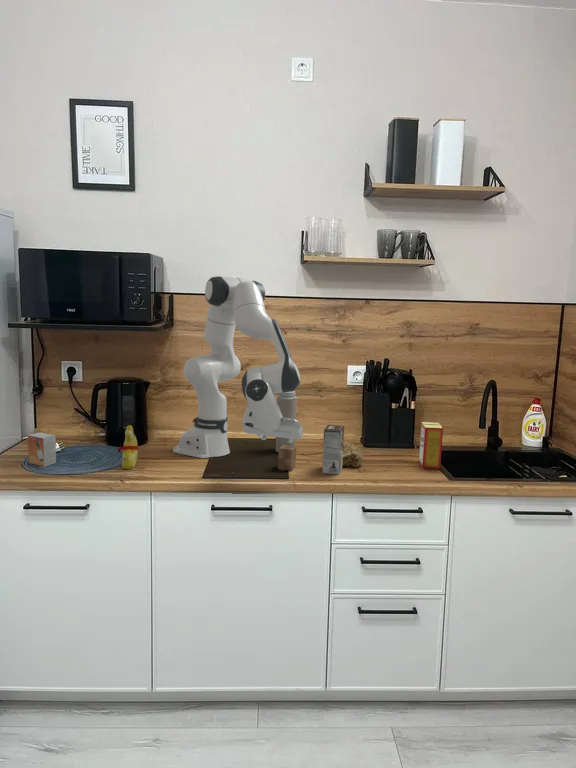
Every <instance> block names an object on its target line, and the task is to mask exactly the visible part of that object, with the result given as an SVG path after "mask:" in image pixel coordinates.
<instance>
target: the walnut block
mask: <svg viewBox="0 0 576 768" xmlns="http://www.w3.org/2000/svg"><path fill="white" fill-rule="evenodd" d="M277 460H278V461H277V462H278V464H277V465H278V467H277V469H282V470H281V471H284V470H288V471H287V472H292V471H294V468H295V469H296V465H297V464H296V460H297V446H296V445H295V446H286V445H283V446H281V447H280V448H279V453H278V459H277Z"/></svg>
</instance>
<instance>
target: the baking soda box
mask: <svg viewBox="0 0 576 768" xmlns="http://www.w3.org/2000/svg"><path fill="white" fill-rule="evenodd" d="M443 433H444V428H443V427H442V425H441V423H439V422H433V421H432V422H430V421H421V422H420V437H419V438H420V439H419V451H418V452H419V453H418V462H419V464H420V466H421V468H422V469H437V470H440V469H441V462H442V461H441V460H442V448H443Z"/></svg>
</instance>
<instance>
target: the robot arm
mask: <svg viewBox="0 0 576 768" xmlns="http://www.w3.org/2000/svg"><path fill="white" fill-rule="evenodd" d="M204 296H205V301H206V302H207V303H208V304H209V308H208V311H207V316H206V322H205V329H204V335H203V338H204V340H205V341H206V343H207V344H209V346H210V354H203V355H196V356H193V357H191V358H189V359H187V360H186V361H185V362H184V364H183V375H184V377H185V379H186V381H187V382H189V383H190V384H191V385H192V387H193V388H194V391H195V394H196V397H197V413H198V414H197V416H196V417H194V419H192V420H191V423H193V426H192V427H190V428H189V429H188V430H186V431H185V432H183V433H182V434H181V436H180V438H179V441H178V444H177V445H176V446H174V447H173V448H172V449H173V450H172V453H175V454H179V455H183V456H189V457H194V458H200V459H205V458H215V457H223V456H226V455H229V454H230V453H231V450H230V447H229V446H230V445H229V440H228V428H229V427H228V423H229V421H228V416H227V409H228V408H227V405H228V403H227V402H228V400H227V397H226V395H225V394H223V393H222V392H220V390H219V386H218V383H220V382H228V381H230V380H233V379H235V378H237V377H238V376H239V374H240V373H241V368H242V366H241V365H242V363H241V362H240V359H239V358H238V356H237V355H236V353H235V351H234V350H235V349H234V339H235V330H236V329H237V330H238V331H239V332H240V333H241V334H242V335H244V336H245V337H248V338H252V339H261V340H267V341H270V342H272V344H273V346H274V347H275V351H276V354H277V355H278V358H279V360H278V362H276V363H270V364H267V365H262V366H255V367H253V368H249V369H247V370H246V371H245V372H244V374H243V375H242V378H241V390H242V394H243V397H244V399H245V400H246V402H247V406H248V407H246V409H245V411H244V414H243V416H242V419H241V424H242V429H243V432H244V433H245V434H249V435H256V436H257V437H259V438H260V439H261V440H263V441H267V438H268V437H273V438H276V437H282V438H288V439H287V442H288V443H292V442H293V439H296V440H301V439H302V438H303V434H304V428H303V426H302V424H301V422H300V421H298V420H297V419H296V420H295V419H290V418H283V417H282V414H281V411H280V409H279V406H278V405H277V397H276V396H275V394H279V393H282V392H283V393H284V392H292V391H295V390H296V389H297V388H298V387H299V385H300V384H301V375H300V371H299V368H298V367H297V365H296V363H295V362H294V360H293V358H292V355H291V351H290V350H289V348H288V347H289V346H288V344H287V342H286V339H285V335H284V334H283V332H282V330H281V326H280V325H279V323H278V322H277V320H276V319H274V318H271V317H270V316H269V315H268V313H267V311H266V306H265V300H266V290H265V287H264V285H263V284H262V283H261V282H259V281H257V280H249V279H246V278H242V277H241V278H240V277H227V276H226V277H225V276H219V275H218V276H212V277H210V278H208V280H207V281H206V284H205V289H204Z"/></svg>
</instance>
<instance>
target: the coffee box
mask: <svg viewBox="0 0 576 768" xmlns="http://www.w3.org/2000/svg"><path fill="white" fill-rule="evenodd" d="M344 442H345V425H341V424H340V425H335V424H327V425H326V427H324V429H323V446H322V447H323V450H322V469H321V471H322V472H321V473H322V474H330V475H338V474H339V475H340V473H341V471H342V469H343V466H344V465H343V445H344Z"/></svg>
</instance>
